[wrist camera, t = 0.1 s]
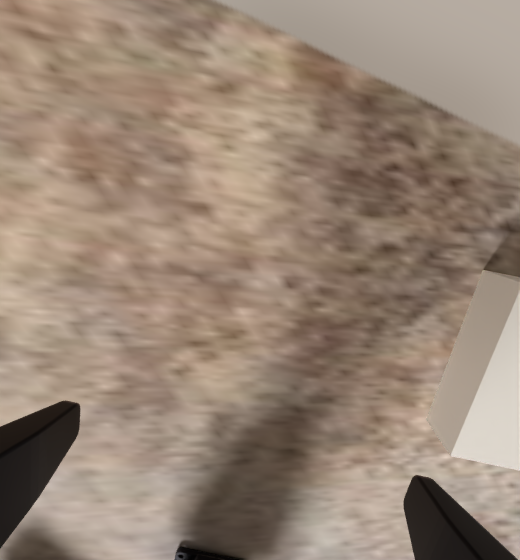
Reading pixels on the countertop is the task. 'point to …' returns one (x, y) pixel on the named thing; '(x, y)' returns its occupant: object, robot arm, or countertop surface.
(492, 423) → the base block
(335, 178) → the countertop surface
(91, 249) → the countertop surface
